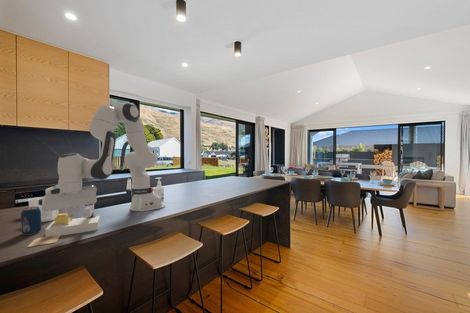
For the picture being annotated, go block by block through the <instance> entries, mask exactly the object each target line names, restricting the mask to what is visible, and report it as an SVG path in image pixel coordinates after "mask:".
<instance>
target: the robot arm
mask: <svg viewBox="0 0 470 313" xmlns="http://www.w3.org/2000/svg"><path fill="white" fill-rule="evenodd" d="M116 123H117V124H118V123H119V124H121V123H123V124H124V129H125V130H124V131H125V135H126V139H127V144H128V145H129V146H130V147H131V148H132V150H133V151H131V152H128V153H126V154H125V156H124V159H123V160H124V164H125V165H126V166H127V167H128V169H129V172H130V175H131V187H132V188H131V190H130V191H131V194H130V195H131V204H130V207H129V210H130V211H134V212H146V211H153V210H157V209H158V210H159V209H164V208H165V207H166V204H165V203H164V202H163V201H162V198H161V196H159V194H157V193H155V192H154V191H155V188H154V187H151V183H150V182H151V181H150V180H151V178H150V177H151V176H150V174H149V173H148V172H147V171H146V169H148V168H153V167H155V166H156V165H157V164H158V156H157V154H155V153H154V152H153V151H152V149H151V148H150V146H149V144H148V142H147V138H146V133H145V129H144V125H143V122H142V120H141V117H140V110H139V108H138V107H137V105H136V104H134V103H131V102H125V103H116V104H113V105H104V104H103V105H101V106H99V107H98V108H97V110H96V111H95V113H94V115H93V117H92V120H91V121H90V123H89V132H90V134H91V136H92V137H94V138H95V139H97V140H100V141H101V143H102V144H101V150H100V155H99V156H98V158H97V159H92V158H91V159H89V158H87V157H84V156H82V155H81V154H80V153H79V152H70V153H64V154H61V155H60V156H59V158H58V160H57V161H58V162H57V175H58V181H57V184H56V185H54V186H50V187H47V188H46V189H45V191H44V192H45V195H44V196H42V197H43V201H42V210H43V211H44V212H48V211H54V210H59V211H60V210H64V213H67V217H70V218H73V217H76V215H77V211H79V207H82V206H88V205H89V204H94V205H95V204H96V203H97V201H98V198H97V191H98V190H97V189H98V188H97V186H95V185H93V184H91V185H83V179H95V180H101V181H103V180H107V179H108V178H109V177H110V176H111V175H112V174H113V170H114V169H113V168H114V164H113V163H114V154H115V150H116V149H115V148H116V142H117V141H116V138H117V136H116V135H115V133H114V132H115V131H114V130H115V126H116V125H117V124H116ZM145 168H146V169H145ZM71 208H73V209H74V210H73V211H72V212H71V211H70V209H71ZM69 211H70V212H69Z"/></svg>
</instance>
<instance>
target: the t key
mask: <svg viewBox="0 0 470 313" xmlns="http://www.w3.org/2000/svg"><path fill="white" fill-rule="evenodd" d="M94 211H95V204H89V205H86V207H85V209H84V210H83V217H84V218H88V217H94V216H95V215H94Z"/></svg>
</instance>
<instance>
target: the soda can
mask: <svg viewBox="0 0 470 313" xmlns="http://www.w3.org/2000/svg"><path fill="white" fill-rule="evenodd" d="M20 226H21V227H20V228H21V229H20V230H21V231H20V232H21V234H22V235H24V236H30V235H35V234H38V233H39V232H40V231H41V230H42V222H41V210H40V209H39V207H29V206H28V207H25V208H23V209H22V210H21V212H20Z"/></svg>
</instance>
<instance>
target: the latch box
mask: <svg viewBox="0 0 470 313" xmlns="http://www.w3.org/2000/svg"><path fill="white" fill-rule="evenodd" d="M100 225H101V215H94V217H88V218H84V216H82V217H78V218H77V217H75V218H70V222H69V223H66V224H59V225H55V220H53V221H52V222H51V223H50V224H49V225H48V226H46V228H45V229H44V232H45V236H44V237H50V236H56V235H61V236H68V235H74V234H80V233H87V232H88V233H89V232H95V231H98V230H99V228H100ZM61 236H60V237H61Z"/></svg>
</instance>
